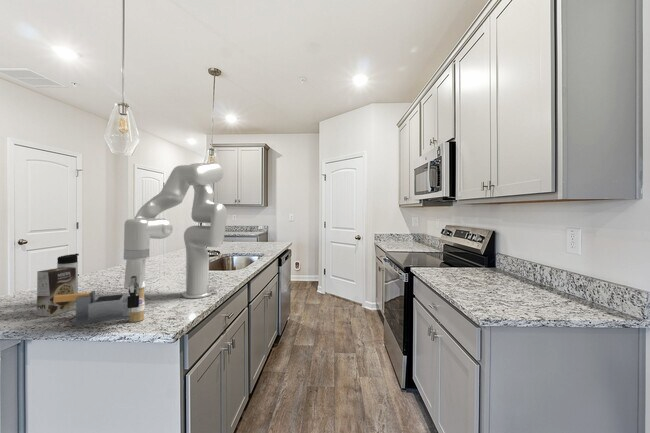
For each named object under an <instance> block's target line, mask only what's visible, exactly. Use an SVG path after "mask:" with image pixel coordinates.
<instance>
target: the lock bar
mask: <svg viewBox="0 0 650 433" xmlns="http://www.w3.org/2000/svg"><path fill="white" fill-rule="evenodd" d="M84 296H91V300H94V299H95V297H96V290H91V291H90V292H80V293H79V292H78V293H77V294H65V295H56V296H54V303H55V302H66V301H76V298H77V297H84Z"/></svg>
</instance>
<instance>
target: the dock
mask: <svg viewBox="0 0 650 433" xmlns="http://www.w3.org/2000/svg"><path fill="white" fill-rule="evenodd" d="M127 301H128V292H125V293H116V294H107V295H106V294H105V295H102V294H101V295H95V299H94V300H91V296H84V297H77V298H76V309H75V318H74V319H72V321H70V326H75V325H76V326H77V325H82V324H89V323H90V324H93V323H100V322H108V321H115V320H126V319H130V312H129V308H127Z"/></svg>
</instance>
